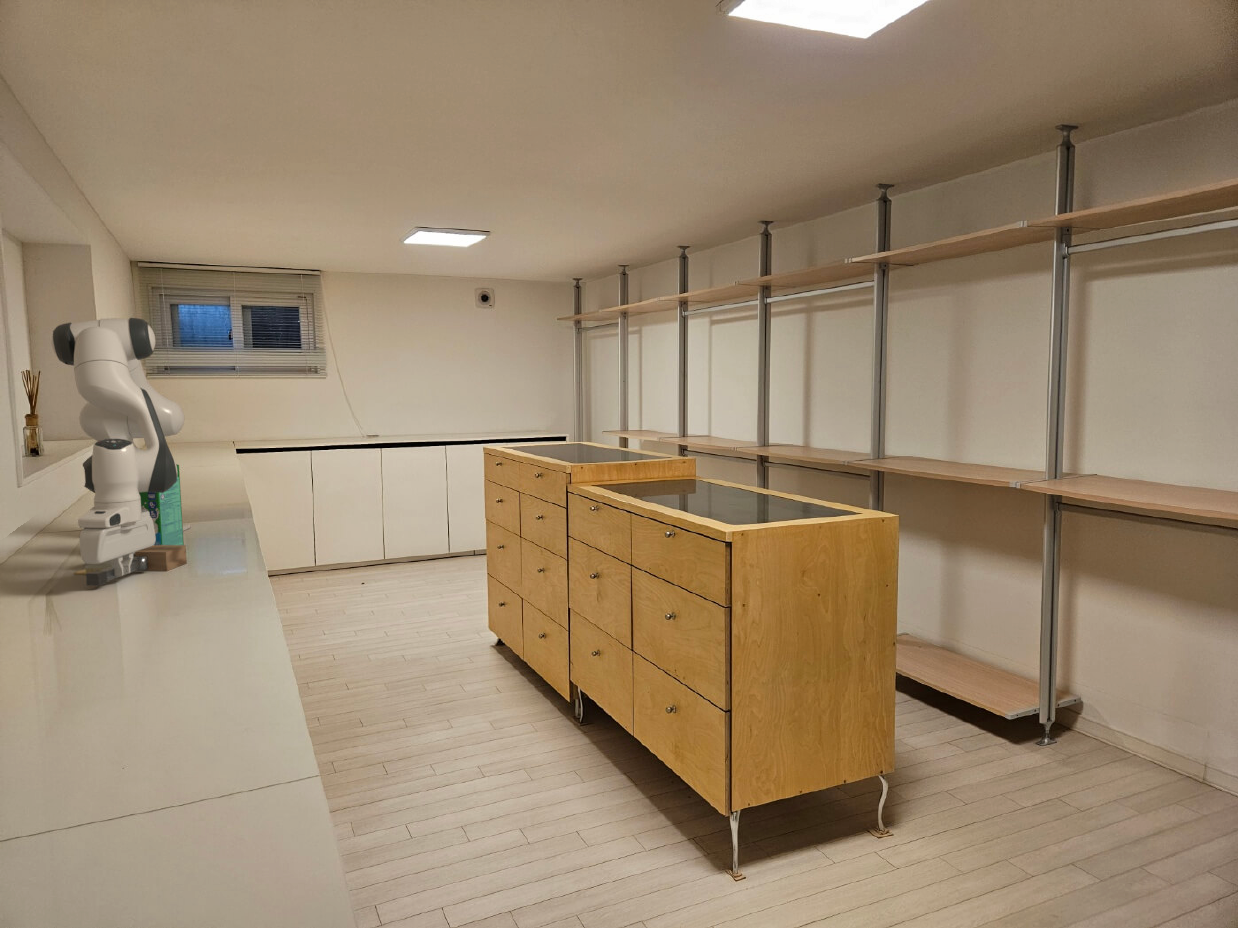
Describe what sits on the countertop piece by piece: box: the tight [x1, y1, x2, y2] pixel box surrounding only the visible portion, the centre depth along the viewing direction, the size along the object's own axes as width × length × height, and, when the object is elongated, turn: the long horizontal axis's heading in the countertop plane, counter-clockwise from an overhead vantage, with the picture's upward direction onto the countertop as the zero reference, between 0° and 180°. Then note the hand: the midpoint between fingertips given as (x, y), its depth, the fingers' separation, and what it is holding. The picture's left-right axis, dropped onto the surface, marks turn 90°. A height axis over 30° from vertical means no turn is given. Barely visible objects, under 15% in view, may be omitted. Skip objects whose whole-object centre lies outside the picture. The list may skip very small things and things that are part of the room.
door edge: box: [84, 544, 188, 572], centre depth 198 cm, size 8×20×4 cm, turn 86°
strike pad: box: [73, 568, 103, 576], centre depth 192 cm, size 4×12×1 cm, turn 86°
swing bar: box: [85, 555, 148, 587], centre depth 185 cm, size 17×3×3 cm, turn 175°
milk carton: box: [139, 463, 185, 545], centre depth 211 cm, size 9×9×25 cm
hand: (122, 574), depth 183 cm, fingers closed, pressing on swing bar
